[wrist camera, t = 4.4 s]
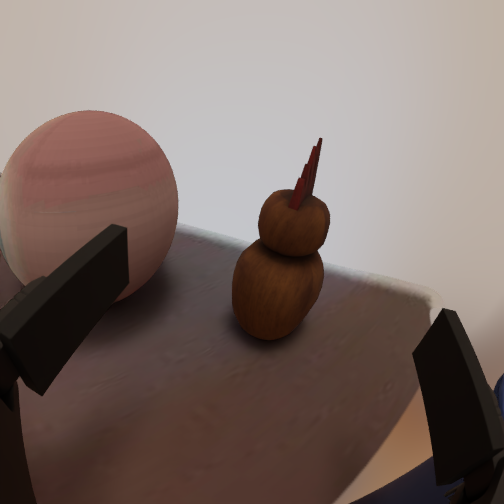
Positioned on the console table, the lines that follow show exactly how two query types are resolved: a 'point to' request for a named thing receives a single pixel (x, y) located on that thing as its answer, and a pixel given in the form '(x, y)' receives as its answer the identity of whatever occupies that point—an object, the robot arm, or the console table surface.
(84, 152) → the eyeball
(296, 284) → the wooden figurine
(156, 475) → the console table surface
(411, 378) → the console table surface
